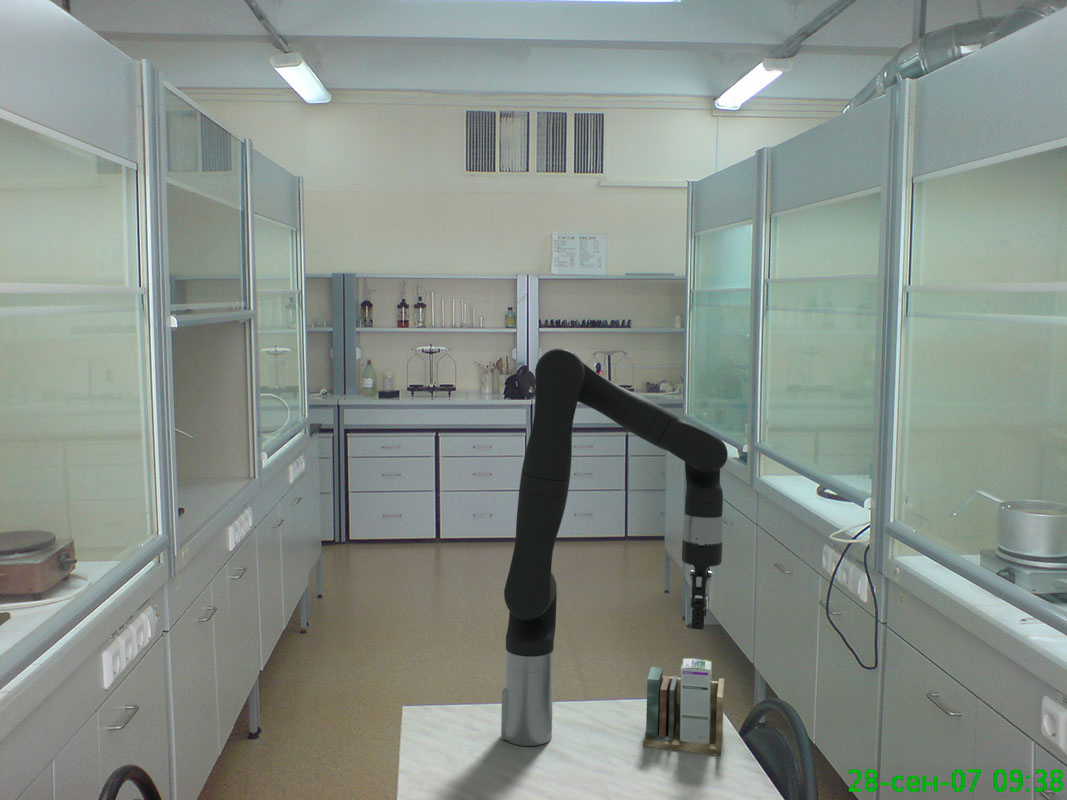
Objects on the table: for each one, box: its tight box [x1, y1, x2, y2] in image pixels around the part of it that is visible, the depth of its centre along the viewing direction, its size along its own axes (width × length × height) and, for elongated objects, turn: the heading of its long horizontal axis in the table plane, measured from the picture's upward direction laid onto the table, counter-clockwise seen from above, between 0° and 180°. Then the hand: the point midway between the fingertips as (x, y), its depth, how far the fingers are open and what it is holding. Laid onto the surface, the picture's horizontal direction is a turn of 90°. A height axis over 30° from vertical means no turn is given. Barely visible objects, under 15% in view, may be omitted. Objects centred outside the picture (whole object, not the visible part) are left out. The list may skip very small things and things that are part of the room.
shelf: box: [642, 666, 725, 756], centre depth 176 cm, size 14×11×12 cm
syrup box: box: [680, 658, 713, 745], centre depth 174 cm, size 6×6×14 cm
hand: (699, 622), depth 173 cm, fingers open, 8 cm apart
